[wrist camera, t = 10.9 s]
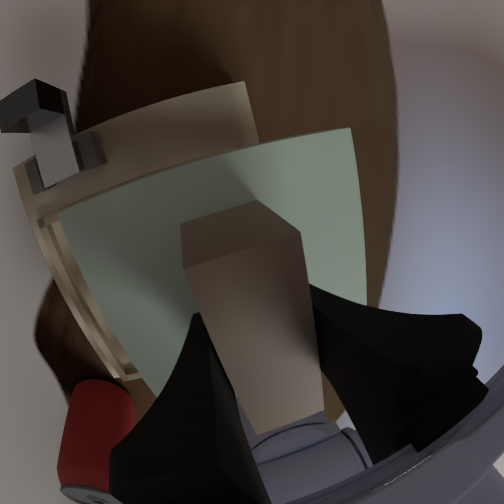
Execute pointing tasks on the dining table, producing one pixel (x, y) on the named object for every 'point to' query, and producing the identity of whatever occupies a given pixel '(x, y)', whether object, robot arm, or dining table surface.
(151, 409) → the robot arm
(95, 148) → the picture frame
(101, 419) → the beer can
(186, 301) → the cover
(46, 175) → the latch bolt
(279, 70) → the dining table surface
